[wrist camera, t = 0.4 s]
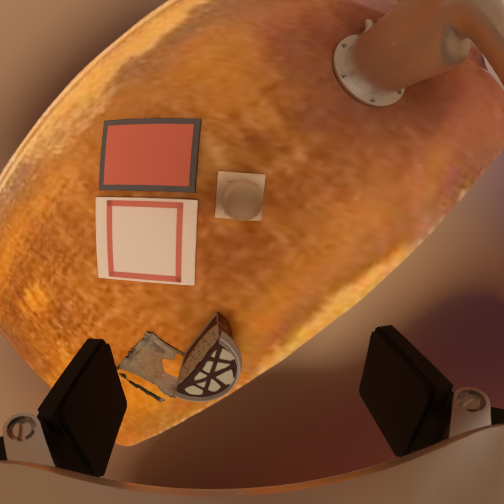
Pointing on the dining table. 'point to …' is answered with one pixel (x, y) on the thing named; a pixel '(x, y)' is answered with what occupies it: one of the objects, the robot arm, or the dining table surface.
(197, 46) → the dining table surface
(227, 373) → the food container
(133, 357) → the parchment
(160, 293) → the dining table surface
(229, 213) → the stamp
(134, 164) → the ink pad
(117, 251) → the marked board
